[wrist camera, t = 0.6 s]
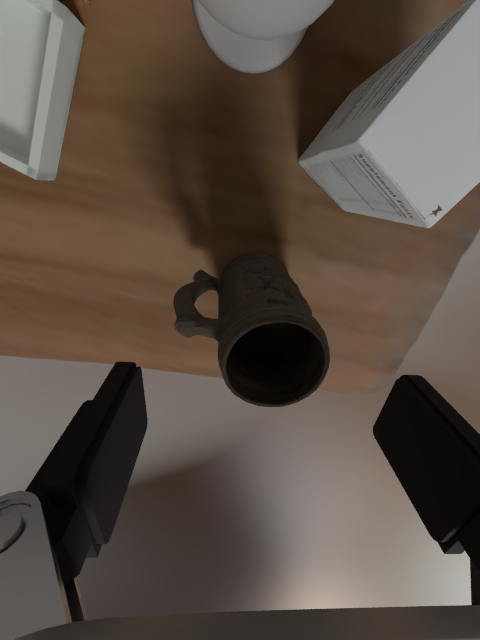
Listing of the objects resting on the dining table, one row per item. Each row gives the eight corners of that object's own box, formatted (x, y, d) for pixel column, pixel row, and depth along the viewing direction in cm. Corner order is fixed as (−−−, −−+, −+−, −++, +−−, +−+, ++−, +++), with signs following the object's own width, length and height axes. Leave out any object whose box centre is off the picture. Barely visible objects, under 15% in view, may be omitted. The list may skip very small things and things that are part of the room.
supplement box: (401, 150, 32) (556, 119, 17) (344, 213, 35) (433, 234, 20) (352, 85, 29) (489, -23, 14) (294, 160, 32) (355, 139, 17)
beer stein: (303, 260, 38) (356, 324, 20) (283, 324, 42) (310, 421, 24) (199, 238, 36) (155, 284, 19) (190, 306, 41) (148, 394, 23)
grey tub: (-46, -61, 23) (-89, -100, 20) (85, 28, 26) (66, 6, 22) (-52, 125, 29) (-86, 118, 25) (55, 180, 31) (36, 180, 28)
